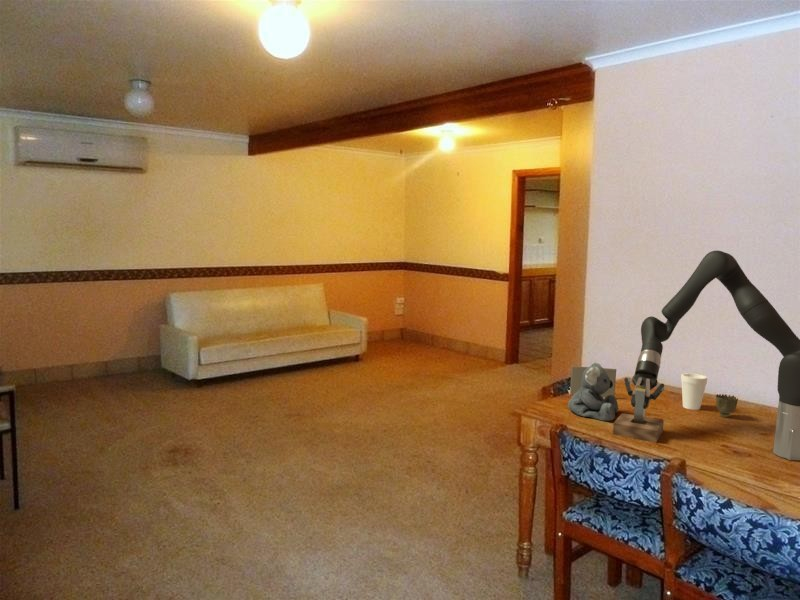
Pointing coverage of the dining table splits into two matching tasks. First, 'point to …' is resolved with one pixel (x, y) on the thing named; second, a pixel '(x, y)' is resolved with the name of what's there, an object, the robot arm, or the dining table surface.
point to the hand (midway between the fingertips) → (639, 406)
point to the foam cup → (693, 390)
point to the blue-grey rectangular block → (639, 403)
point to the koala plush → (594, 395)
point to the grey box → (577, 378)
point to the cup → (726, 404)
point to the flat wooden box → (638, 428)
